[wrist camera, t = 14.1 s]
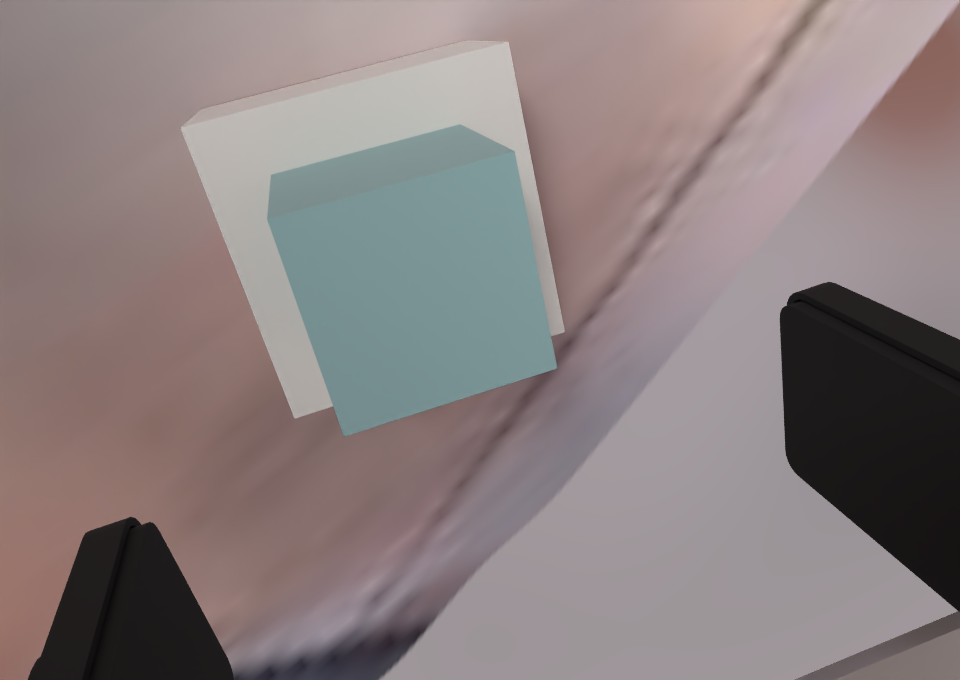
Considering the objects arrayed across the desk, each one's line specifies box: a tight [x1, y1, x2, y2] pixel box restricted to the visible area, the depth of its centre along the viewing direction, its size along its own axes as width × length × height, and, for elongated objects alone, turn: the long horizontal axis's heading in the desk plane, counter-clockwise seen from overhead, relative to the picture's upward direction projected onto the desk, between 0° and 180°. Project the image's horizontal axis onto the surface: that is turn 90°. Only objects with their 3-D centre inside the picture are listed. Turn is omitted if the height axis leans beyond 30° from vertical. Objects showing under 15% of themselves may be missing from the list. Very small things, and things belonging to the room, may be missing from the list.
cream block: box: [181, 41, 565, 419], centre depth 27 cm, size 10×10×6 cm
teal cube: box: [267, 124, 557, 437], centre depth 21 cm, size 6×6×6 cm
